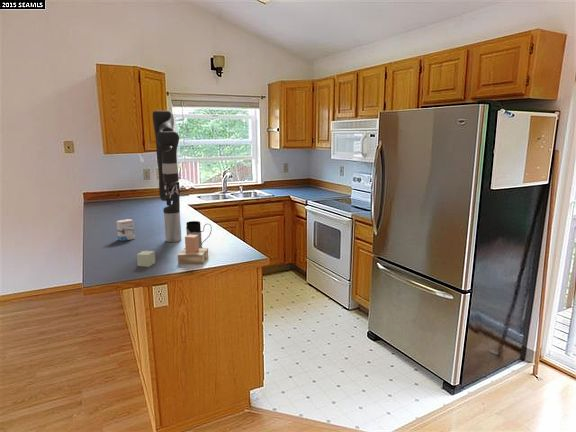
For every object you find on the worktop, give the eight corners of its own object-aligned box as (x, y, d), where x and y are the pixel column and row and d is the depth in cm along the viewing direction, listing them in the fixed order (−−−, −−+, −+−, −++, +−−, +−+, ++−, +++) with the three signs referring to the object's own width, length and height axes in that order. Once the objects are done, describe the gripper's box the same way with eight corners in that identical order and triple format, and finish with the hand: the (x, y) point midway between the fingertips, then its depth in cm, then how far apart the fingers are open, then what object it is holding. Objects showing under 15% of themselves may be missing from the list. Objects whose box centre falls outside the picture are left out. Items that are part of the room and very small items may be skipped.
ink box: (120, 241, 225) (119, 222, 223) (117, 239, 229) (115, 220, 226) (135, 238, 231) (133, 220, 229) (131, 237, 235) (130, 218, 232)
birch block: (185, 256, 198) (185, 247, 197) (208, 257, 198) (208, 248, 197) (178, 264, 186) (177, 254, 185) (202, 265, 186) (201, 255, 185)
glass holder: (185, 247, 214) (184, 221, 211) (211, 244, 219) (209, 219, 216) (187, 251, 206) (186, 224, 203) (213, 249, 211) (212, 222, 208)
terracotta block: (189, 249, 194) (189, 234, 193) (199, 250, 193) (198, 234, 192) (185, 252, 189) (184, 236, 188) (195, 252, 189) (194, 237, 187)
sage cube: (144, 262, 189) (143, 250, 188) (155, 262, 188) (154, 251, 187) (137, 266, 183) (136, 254, 182) (149, 266, 182) (148, 254, 181)
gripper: (169, 170, 197) (171, 200, 201) (156, 173, 184) (159, 206, 188) (183, 170, 196) (185, 201, 200) (171, 174, 183) (173, 206, 187)
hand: (172, 203), depth 194 cm, fingers open, 8 cm apart
